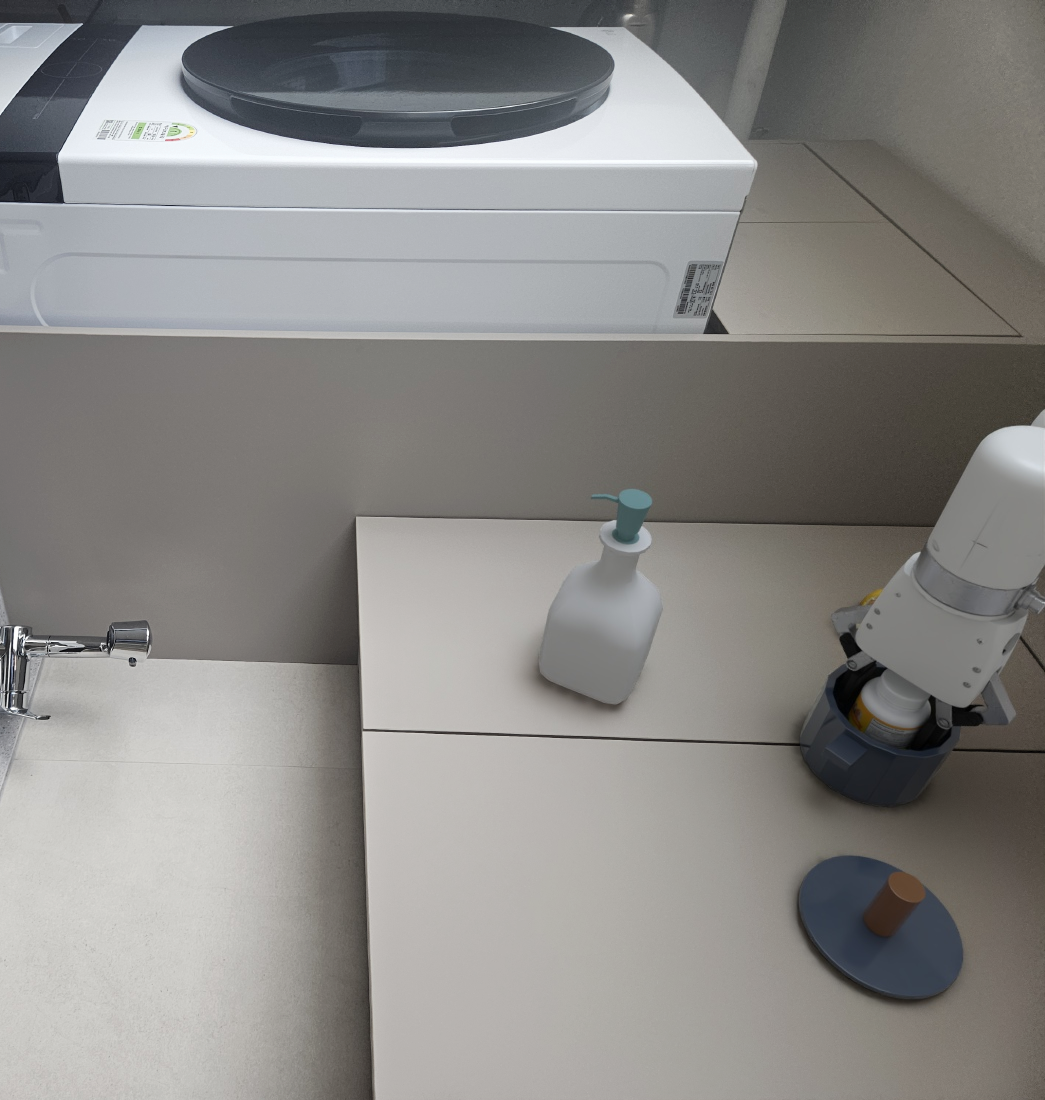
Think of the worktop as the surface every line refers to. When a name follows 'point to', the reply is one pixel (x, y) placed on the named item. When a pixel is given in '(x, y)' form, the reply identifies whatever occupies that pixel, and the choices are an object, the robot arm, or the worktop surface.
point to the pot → (866, 752)
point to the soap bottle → (605, 611)
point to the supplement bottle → (890, 710)
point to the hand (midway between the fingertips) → (885, 717)
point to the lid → (880, 927)
